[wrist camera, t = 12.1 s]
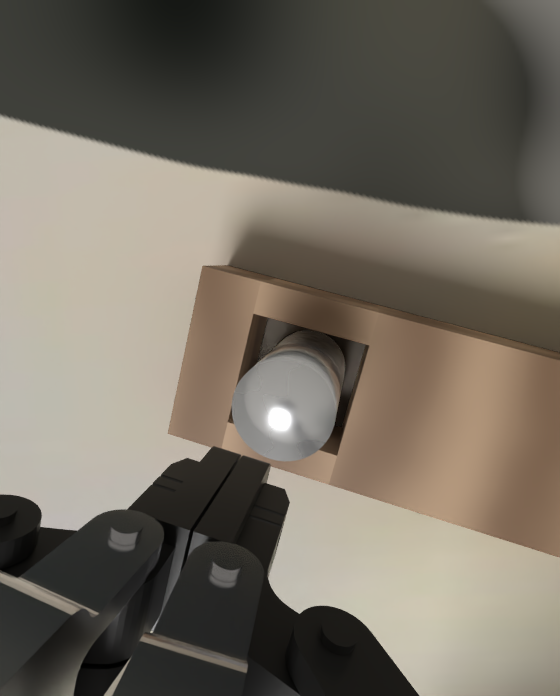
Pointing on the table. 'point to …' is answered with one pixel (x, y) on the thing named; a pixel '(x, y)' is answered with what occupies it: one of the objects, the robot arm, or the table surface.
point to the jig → (394, 406)
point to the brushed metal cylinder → (291, 397)
